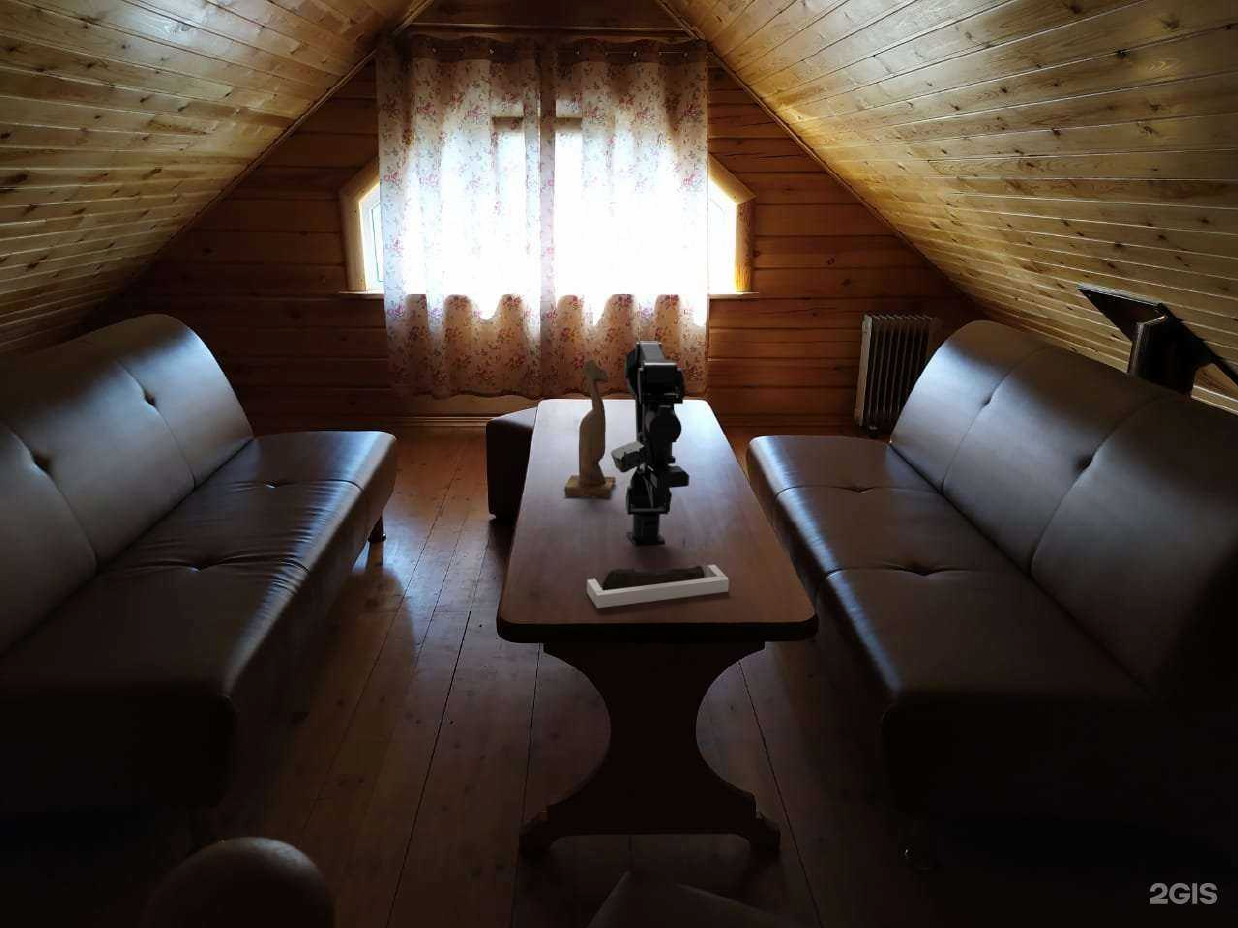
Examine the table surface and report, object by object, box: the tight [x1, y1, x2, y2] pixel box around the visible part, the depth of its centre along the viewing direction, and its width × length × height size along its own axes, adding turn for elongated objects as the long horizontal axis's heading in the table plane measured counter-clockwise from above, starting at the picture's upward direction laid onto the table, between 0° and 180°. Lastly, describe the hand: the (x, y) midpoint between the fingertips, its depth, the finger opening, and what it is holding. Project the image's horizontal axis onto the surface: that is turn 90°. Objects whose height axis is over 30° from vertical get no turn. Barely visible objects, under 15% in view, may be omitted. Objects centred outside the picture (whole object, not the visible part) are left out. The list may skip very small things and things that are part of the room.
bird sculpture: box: [563, 359, 617, 499], centre depth 208 cm, size 11×12×32 cm
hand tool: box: [602, 565, 706, 591], centre depth 162 cm, size 19×4×5 cm, turn 101°
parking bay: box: [586, 564, 730, 609], centre depth 160 cm, size 6×25×2 cm, turn 108°
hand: (655, 508), depth 168 cm, fingers closed
